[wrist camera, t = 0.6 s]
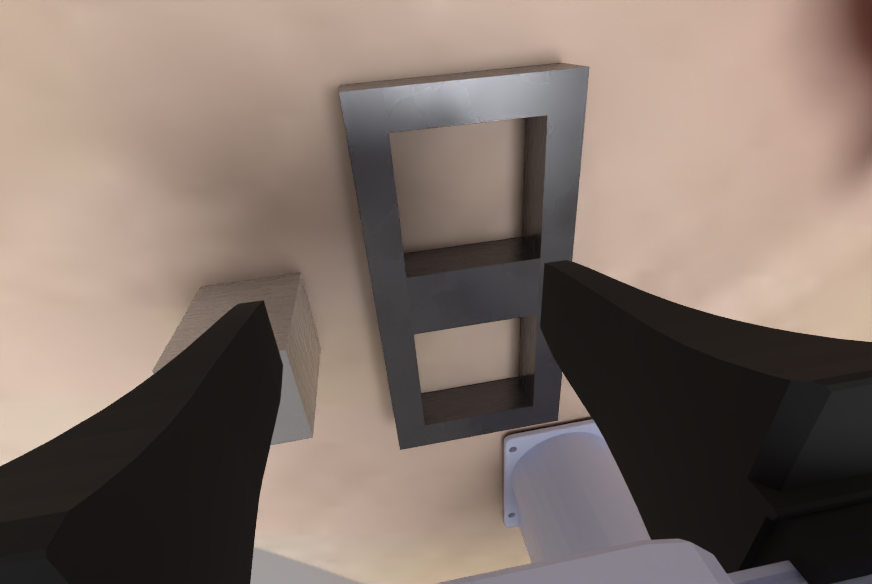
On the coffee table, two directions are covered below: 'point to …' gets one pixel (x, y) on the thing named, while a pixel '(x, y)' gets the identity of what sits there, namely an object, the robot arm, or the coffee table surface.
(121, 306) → the coffee table surface
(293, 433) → the block
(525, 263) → the dark grey double frame
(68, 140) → the coffee table surface
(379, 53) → the coffee table surface
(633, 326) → the robot arm
